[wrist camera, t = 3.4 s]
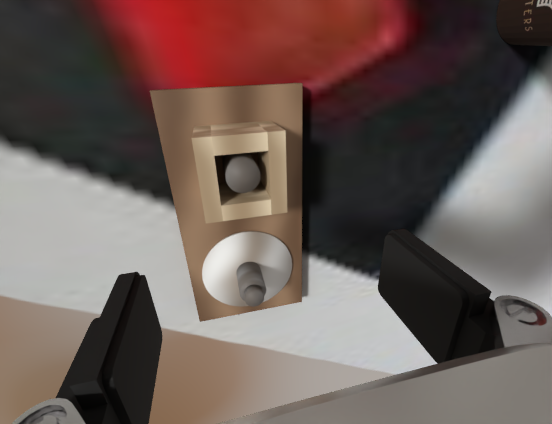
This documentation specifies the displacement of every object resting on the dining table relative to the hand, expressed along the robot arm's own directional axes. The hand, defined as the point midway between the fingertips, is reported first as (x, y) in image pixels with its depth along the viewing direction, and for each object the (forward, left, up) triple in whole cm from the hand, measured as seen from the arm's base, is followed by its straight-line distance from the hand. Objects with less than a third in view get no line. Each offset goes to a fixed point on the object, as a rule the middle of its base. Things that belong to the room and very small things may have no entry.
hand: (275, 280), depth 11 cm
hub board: (0, +6, -18) cm, 18 cm away
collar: (0, 0, -16) cm, 16 cm away
